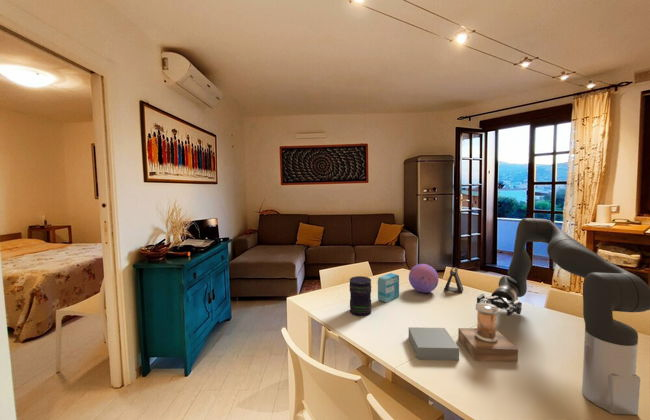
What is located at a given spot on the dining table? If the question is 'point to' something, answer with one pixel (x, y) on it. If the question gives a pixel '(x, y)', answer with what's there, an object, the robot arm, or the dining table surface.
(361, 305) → the dark blue cylinder
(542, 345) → the dining table surface
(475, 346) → the walnut stand
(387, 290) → the data package
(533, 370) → the dining table surface
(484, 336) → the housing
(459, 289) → the phone stand
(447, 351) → the slate stand
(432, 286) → the decorative ball
